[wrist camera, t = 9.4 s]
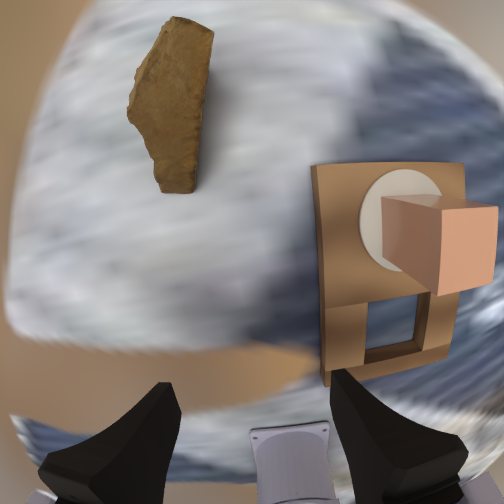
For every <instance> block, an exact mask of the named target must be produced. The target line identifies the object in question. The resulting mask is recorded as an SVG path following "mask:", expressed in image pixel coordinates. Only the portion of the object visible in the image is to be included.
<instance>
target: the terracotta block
mask: <svg viewBox="0 0 504 504" xmlns="http://www.w3.org/2000/svg"><path fill="white" fill-rule="evenodd" d="M381 212H382V257H383V258H385V259H386V260H388V261H389V262H391V263H392V264H393V265H395V266H396V267H398V268H399V269H401V270H402V271H403V272H405V273H406V274H408V275H409V276H410V277H412V278H413V279H414V280H416V281H417V282H419V283H420V284H421V285H423V286H424V287H425V288H427V289H428V290H429V291H431V292H432V293H433V294H435V295H436V296H441V295H446V294H450V293H454V292H459V291H463V290H467V289H471V288H475V287H479V286H483V285H486V284H490V283H492V281H493V274H494V266H495V256H496V245H497V229H498V206H493V205H489V204H484V203H479V202H474V201H468V200H463V199H457V198H452V197H446V196H440V195H434V194H418V195H399V196H382V197H381Z"/></svg>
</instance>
